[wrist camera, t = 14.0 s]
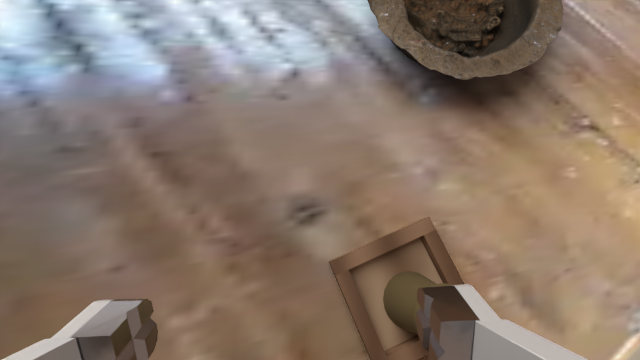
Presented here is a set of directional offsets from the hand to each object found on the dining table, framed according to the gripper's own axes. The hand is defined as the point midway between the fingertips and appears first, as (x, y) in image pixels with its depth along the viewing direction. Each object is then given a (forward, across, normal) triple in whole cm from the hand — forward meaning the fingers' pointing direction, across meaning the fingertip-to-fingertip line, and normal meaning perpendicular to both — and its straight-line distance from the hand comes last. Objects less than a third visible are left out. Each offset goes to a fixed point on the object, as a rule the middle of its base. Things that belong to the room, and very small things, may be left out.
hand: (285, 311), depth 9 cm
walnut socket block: (+22, -9, +14) cm, 28 cm away
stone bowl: (+38, -19, -16) cm, 46 cm away
